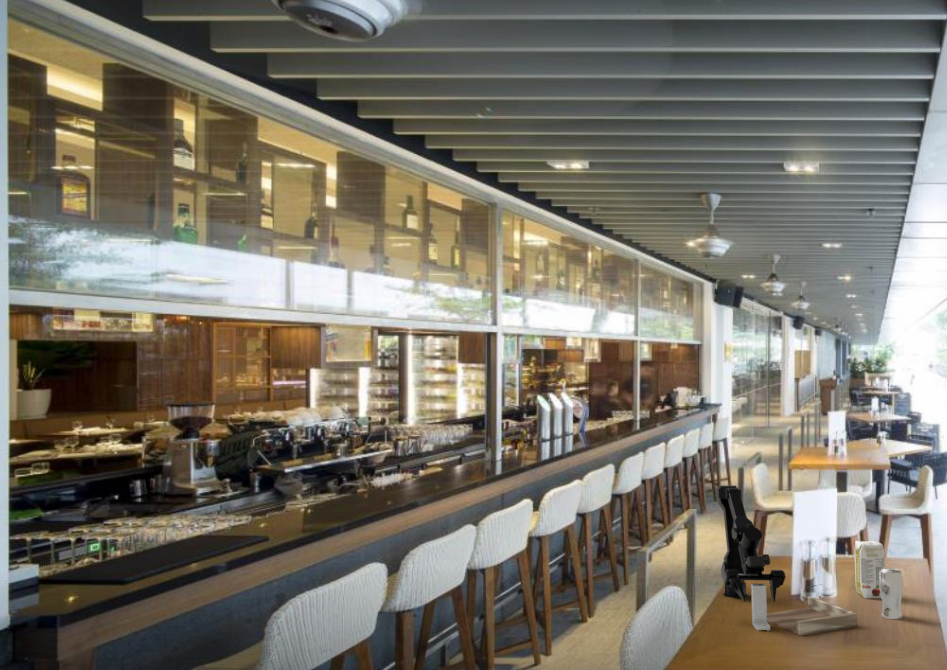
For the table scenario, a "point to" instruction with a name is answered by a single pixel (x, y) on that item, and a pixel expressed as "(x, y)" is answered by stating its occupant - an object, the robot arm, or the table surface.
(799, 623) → the corner board
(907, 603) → the table surface
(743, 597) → the robot arm
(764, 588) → the aluminium bracket
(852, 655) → the table surface
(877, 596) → the juice carton
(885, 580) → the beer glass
